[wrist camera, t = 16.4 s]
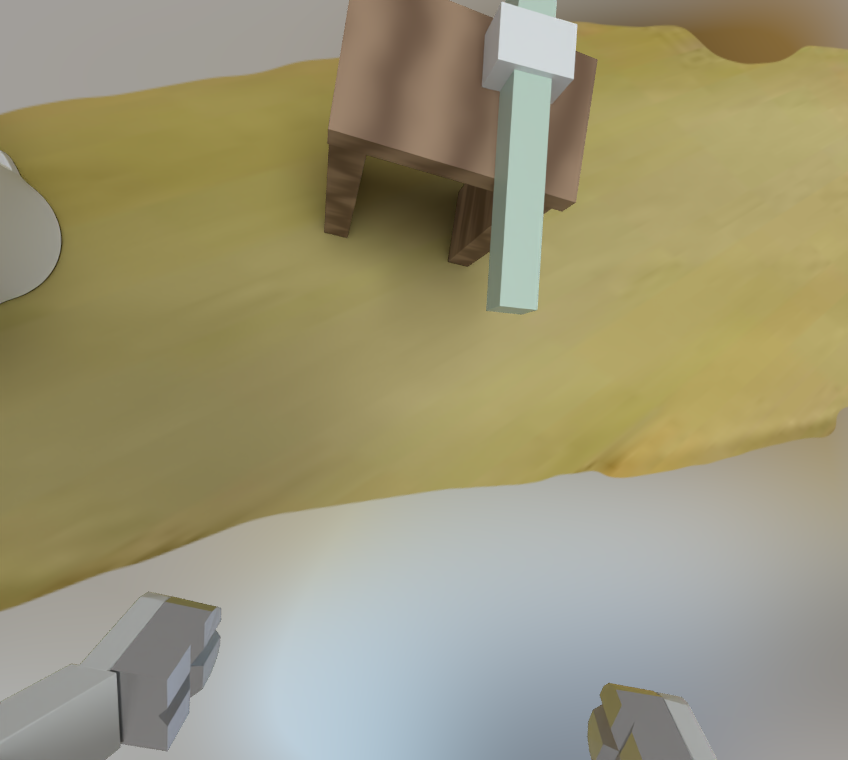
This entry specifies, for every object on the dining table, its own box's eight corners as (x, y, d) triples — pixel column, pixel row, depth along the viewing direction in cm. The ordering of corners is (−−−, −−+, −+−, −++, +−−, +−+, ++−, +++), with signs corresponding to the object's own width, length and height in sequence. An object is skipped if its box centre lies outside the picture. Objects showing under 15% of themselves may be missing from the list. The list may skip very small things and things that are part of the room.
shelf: (323, 240, 55) (328, 128, 30) (337, 149, 55) (355, -37, 30) (466, 273, 60) (575, 202, 35) (479, 190, 60) (597, 59, 35)
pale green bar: (468, 308, 33) (483, 302, 30) (487, -5, 32) (504, -42, 29) (538, 316, 34) (559, 311, 31) (557, 16, 34) (579, -17, 31)
